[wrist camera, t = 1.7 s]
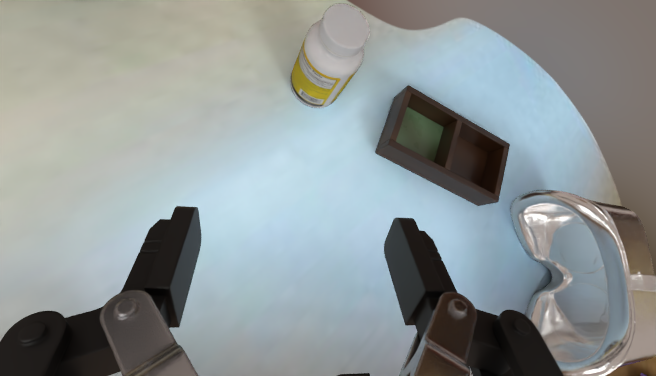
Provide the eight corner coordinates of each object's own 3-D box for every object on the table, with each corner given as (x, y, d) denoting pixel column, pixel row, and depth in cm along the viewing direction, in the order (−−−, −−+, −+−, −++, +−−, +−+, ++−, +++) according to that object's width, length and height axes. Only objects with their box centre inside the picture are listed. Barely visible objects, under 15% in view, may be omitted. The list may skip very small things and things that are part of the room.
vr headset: (492, 198, 40) (633, 169, 26) (559, 205, 43) (714, 182, 30) (506, 359, 36) (680, 422, 22) (579, 352, 39) (767, 402, 26)
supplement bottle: (326, 58, 36) (364, -8, 27) (344, 103, 35) (388, 51, 26) (281, 67, 34) (305, -2, 25) (299, 114, 33) (330, 62, 24)
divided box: (394, 97, 38) (408, 84, 35) (490, 151, 41) (510, 144, 38) (374, 152, 35) (388, 144, 33) (478, 205, 39) (498, 202, 36)
